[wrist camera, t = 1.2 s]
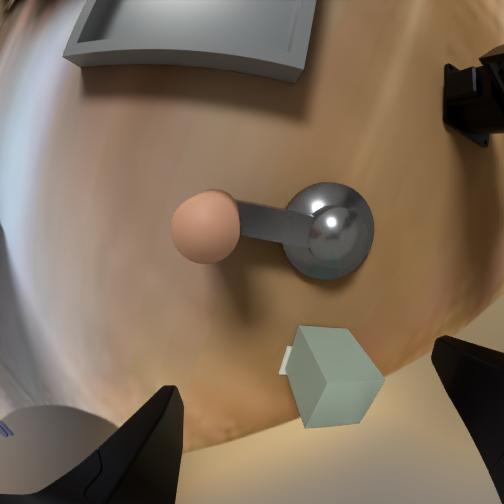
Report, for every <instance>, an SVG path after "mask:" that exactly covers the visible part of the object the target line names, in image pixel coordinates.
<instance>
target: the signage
mask: <svg viewBox="0 0 504 504" xmlns="http://www.w3.org/2000/svg"><path fill="white" fill-rule="evenodd" d="M0 434H2V435H3V436H5V437H8V434H9V435H10V436H13V434H14V433H13V432H12V431H11V430H10V429H9V428H8V427H7V426H6V424H5V423H4V422H3V421H2V420H1V421H0Z"/></svg>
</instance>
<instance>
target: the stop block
mask: <svg viewBox="0 0 504 504" xmlns="http://www.w3.org/2000/svg"><path fill="white" fill-rule="evenodd" d="M285 370H286V373H287V376H288V379H289V382H290V385H291V388H292V392H293V395H294V398H295V401H296V404H297V407H298V410H299V413H300V416H301V419H302V422H303V425H304V427H305V428H318V427H330V426H341V425H349V424H357V423H360V421H361V420H362V418H363V417H364V415H365V414H366V412H367V410H368V409H369V407H370V406H371V404H372V402H373V401H374V399H375V397H376V395H377V394H378V392H379V390H380V388H381V387H382V385H383V383H384V381H385V378H384V377H383V376H382V374H381V373H380V372H379V370H378V369H377V368H376V366H375V365H374V363H373V362H372V361H371V359H370V358H369V357H368V355H367V354H366V353H365V351H364V350H363V349H362V347H361V346H360V345H359V343H358V342H357V341H356V339H355V338H354V337H353V336H352V334H351V333H350V332H349V330H348V329H342V328H326V327H312V326H300V325H299V327H298V330H297V333H296V336H295V339H294V343H293V346H292V349H291V352H290V355H289V358H288V361H287V364H286V367H285Z"/></svg>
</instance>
